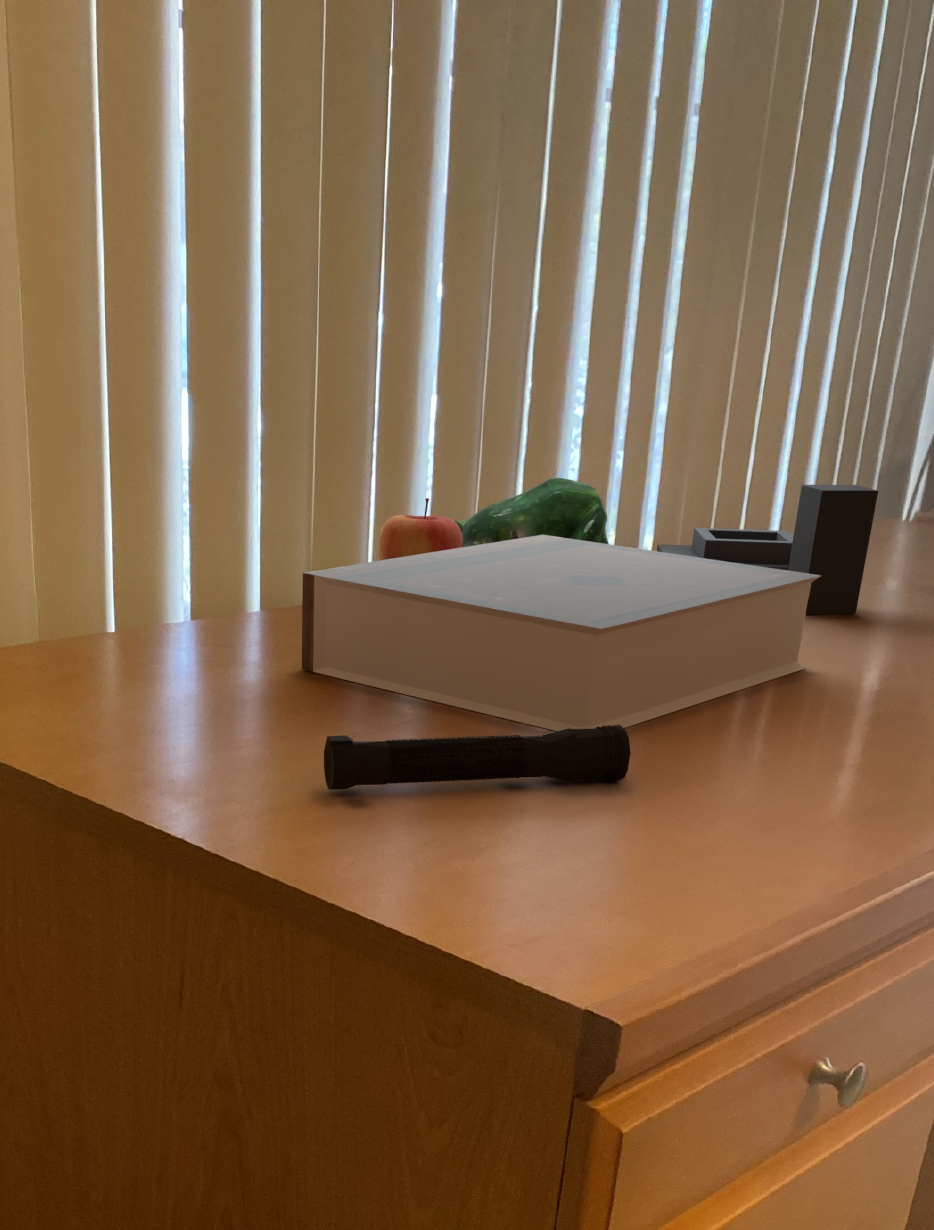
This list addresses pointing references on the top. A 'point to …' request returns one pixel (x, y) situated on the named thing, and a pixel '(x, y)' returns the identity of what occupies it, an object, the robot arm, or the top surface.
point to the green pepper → (541, 515)
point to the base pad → (738, 546)
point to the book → (555, 629)
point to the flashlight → (479, 758)
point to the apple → (418, 535)
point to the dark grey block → (833, 544)
